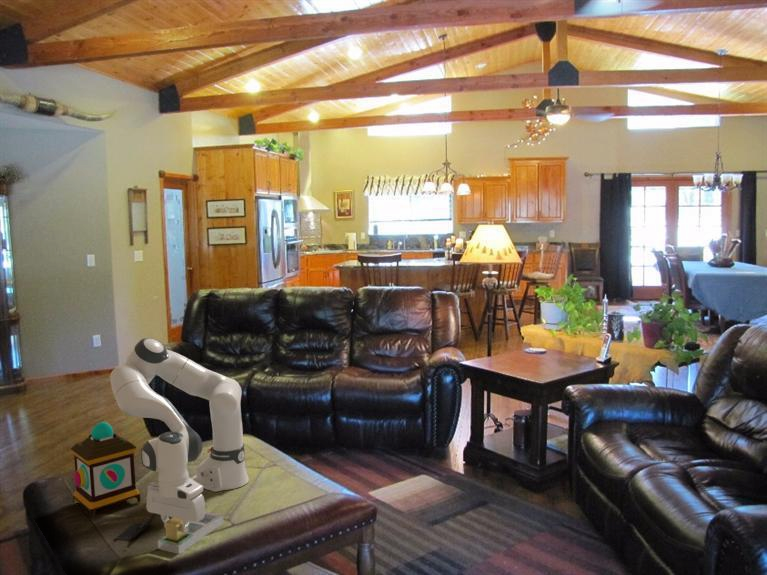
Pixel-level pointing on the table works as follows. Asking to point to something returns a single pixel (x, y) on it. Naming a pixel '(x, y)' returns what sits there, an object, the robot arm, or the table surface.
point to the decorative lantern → (104, 469)
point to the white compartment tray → (192, 533)
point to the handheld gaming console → (134, 530)
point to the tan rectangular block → (175, 530)
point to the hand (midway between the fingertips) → (176, 529)
